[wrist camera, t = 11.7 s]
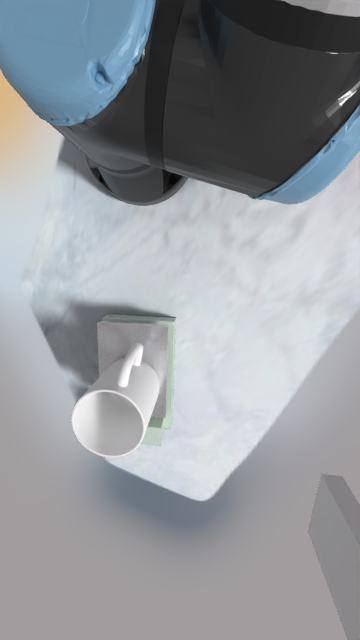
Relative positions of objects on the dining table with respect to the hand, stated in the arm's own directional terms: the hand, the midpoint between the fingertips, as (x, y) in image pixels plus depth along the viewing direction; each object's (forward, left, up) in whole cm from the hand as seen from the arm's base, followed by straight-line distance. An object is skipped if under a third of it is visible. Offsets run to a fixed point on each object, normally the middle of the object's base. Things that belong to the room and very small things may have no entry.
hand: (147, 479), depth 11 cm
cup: (+7, -7, -26) cm, 28 cm away
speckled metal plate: (+7, -8, -29) cm, 31 cm away
